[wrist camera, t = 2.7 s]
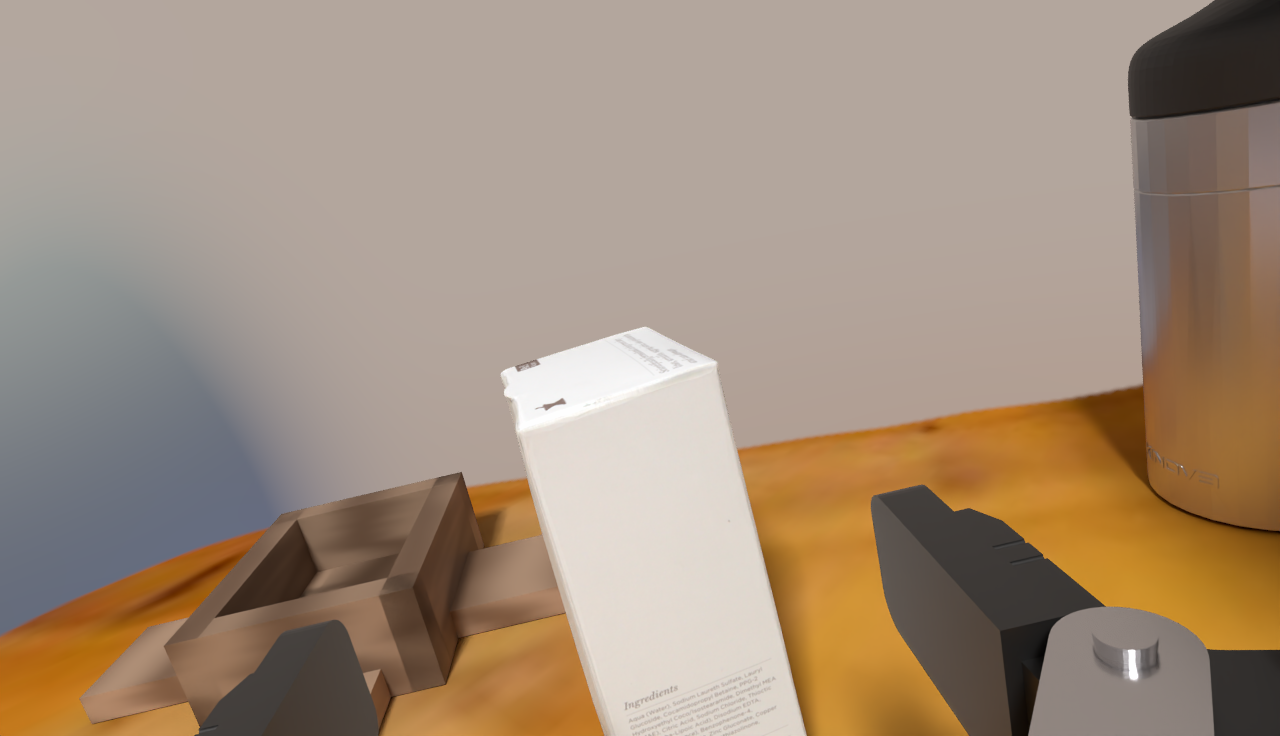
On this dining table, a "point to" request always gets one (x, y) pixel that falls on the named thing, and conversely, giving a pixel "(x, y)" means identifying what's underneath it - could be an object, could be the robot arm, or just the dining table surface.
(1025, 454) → the dining table surface
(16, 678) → the dining table surface
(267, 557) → the cross stand
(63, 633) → the dining table surface
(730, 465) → the skincare box
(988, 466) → the dining table surface
